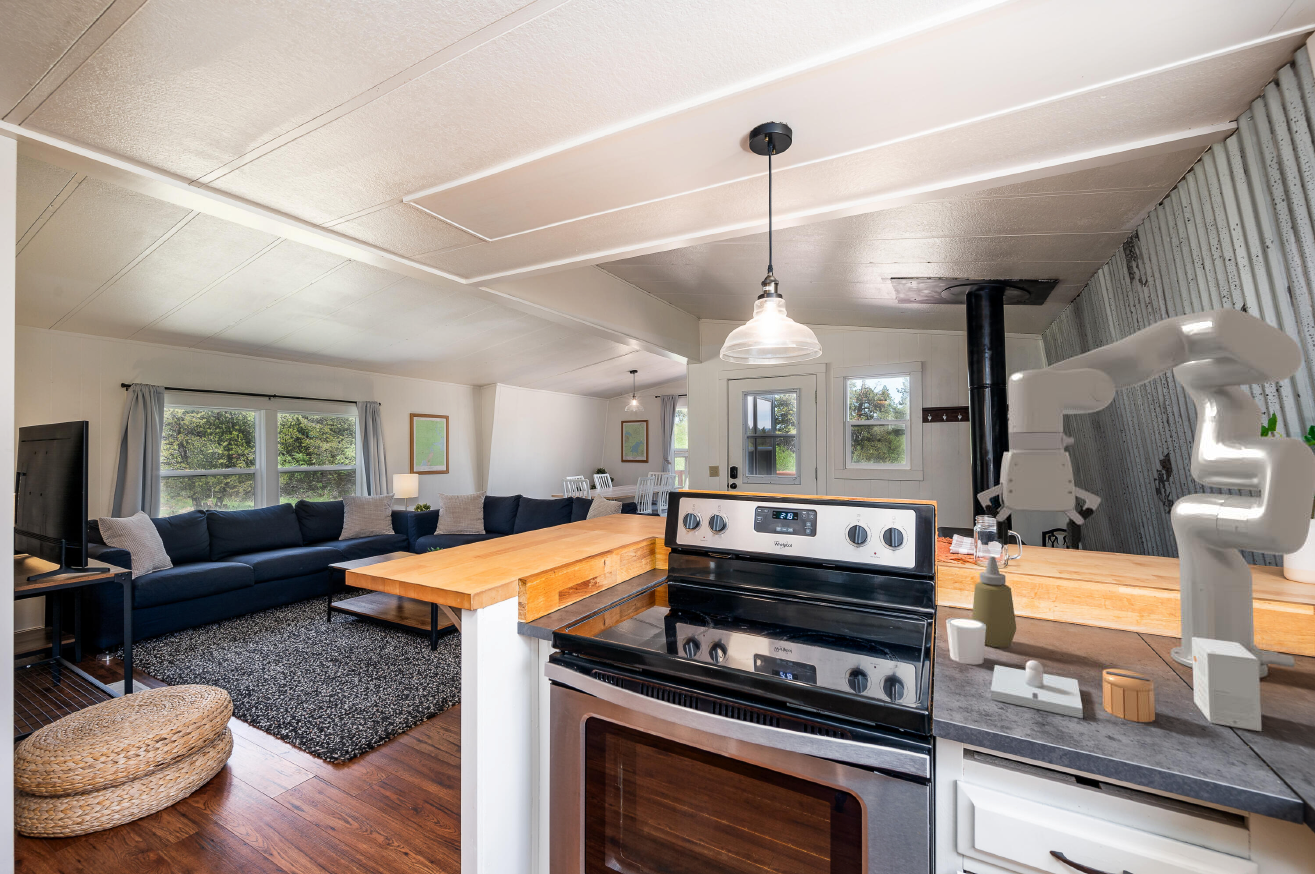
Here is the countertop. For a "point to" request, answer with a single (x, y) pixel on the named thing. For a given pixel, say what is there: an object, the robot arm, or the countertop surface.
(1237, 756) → the countertop surface
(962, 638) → the white cup
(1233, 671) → the small box
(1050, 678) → the knob base plate
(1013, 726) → the countertop surface
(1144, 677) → the cap
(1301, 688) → the countertop surface
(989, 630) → the squeeze bottle
